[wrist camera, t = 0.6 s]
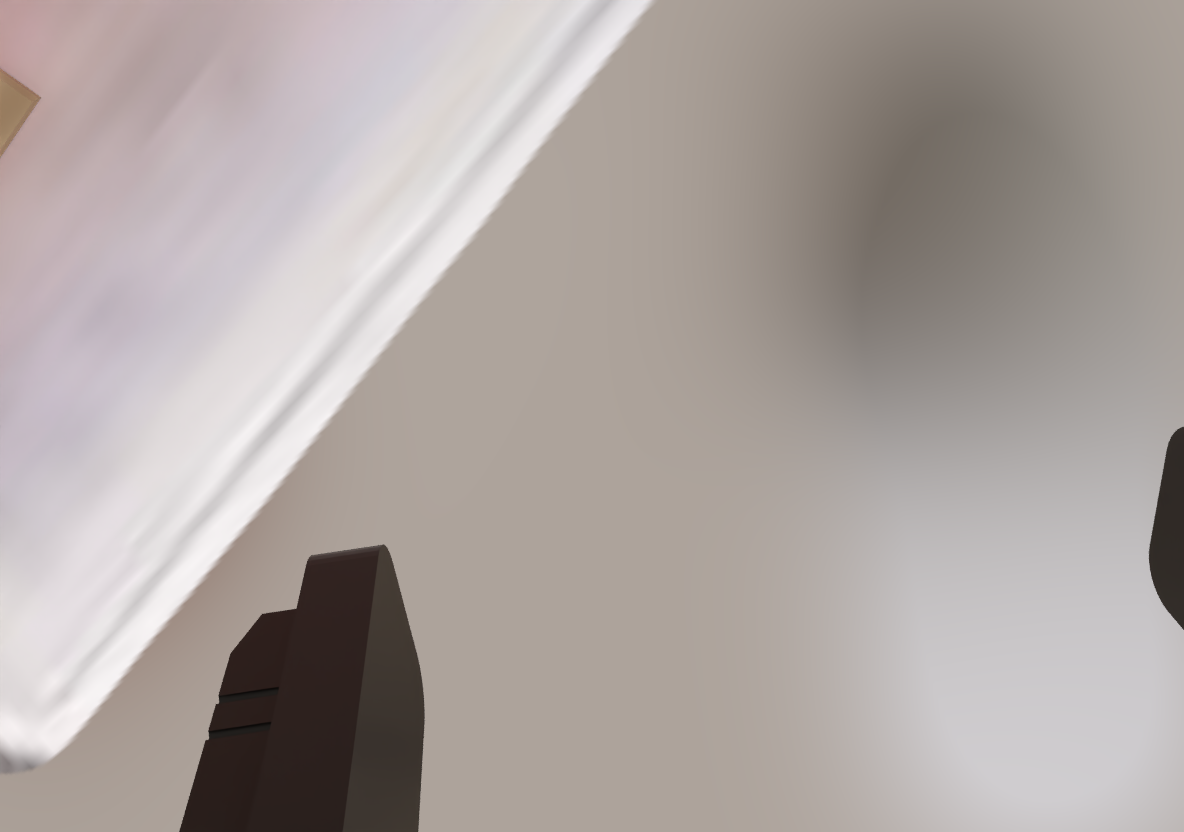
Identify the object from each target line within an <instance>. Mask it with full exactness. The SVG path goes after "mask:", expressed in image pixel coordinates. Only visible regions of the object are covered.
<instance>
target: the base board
mask: <svg viewBox="0 0 1184 832" xmlns="http://www.w3.org/2000/svg"><path fill="white" fill-rule="evenodd" d="M40 98H41V97H39V96H38V95H37V94H35V93H34V92H32V91H31V90H29V89H28V88H27V87H25V86H24V85H22V84H21V83H20V82H18V81H17V80H15V79H14V78H13V77H11V76H10V75H8V74H7V73H6V72H4V71H3V70H1V69H0V157H1V156H2V154H3V153H4V151H5V150H6V148H7V147H8V145H9V144H10V142H11V141H12V139H13V138H14V136H15V135H16V134H17V132H18V131H19V129H20V128H21V126H22V125H23V123H24V122H25V120H26V119H27V117H28V116H29V114H30V113H31V111H32V110H33V108H34V107H35V105H36V104H37V102H38V101H39V99H40Z"/></svg>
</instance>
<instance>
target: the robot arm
mask: <svg viewBox="0 0 1184 832" xmlns="http://www.w3.org/2000/svg"><path fill="white" fill-rule="evenodd" d="M1149 563H1150V571H1151V576H1152V580H1153V583H1154V586H1155V588H1156V591H1157V594H1158V596H1159V598H1160V600H1161V602H1162V603H1163V605H1164V606H1165V608H1166V609H1167V610H1168V612H1169V613H1170V614H1171V615H1172V617H1173V618H1174V619H1175V620H1176V621H1177V622H1178V624H1179V625H1180V626H1181V627H1182V628H1183V630H1184V427H1182V428H1180V429H1178V430H1177V431H1176V432H1175V433H1174V434H1173V435H1172V437H1171V439H1170V441H1169V443H1168V447H1167V452H1166V457H1165V463H1164V469H1163V475H1162V480H1161V486H1160V491H1159V497H1158V502H1157V508H1156V514H1155V519H1154V525H1153V531H1152V536H1151V542H1150V549H1149ZM424 718H425V717H424V695H423V685H422V677H421V671H420V665H419V661H418V657H417V652H416V649H415V645H414V641H413V637H412V633H411V630H410V626H409V622H408V618H407V614H406V611H405V607H404V603H403V599H402V595H401V592H400V588H399V584H398V580H397V577H396V573H395V569H394V565H393V562H392V558H391V555H390V553H389V551H388V549H387V547H386V546H385V545H378V546H371V547H364V548H358V549H351V550H344V551H338V552H332V553H325V554H318V555H311V556H310V557H309V559H308V561H307V564H306V569H305V573H304V578H303V582H302V586H301V591H300V596H299V601H298V605H297V609H292V610H285V611H280V612H272V613H266V614H262V615H261V616H260V617H259V619H258V620H257V621H256V623H255V624H254V625H253V626H252V628H251V629H250V630H249V632H247V634H246V635H245V636H244V638H243V639H242V640H241V641H240V642H239V644H238V645H237V646H236V647H235V649H234V650H233V651H232V652H231V654H230V657H229V661H228V664H227V668H226V671H225V675H224V678H223V682H222V685H221V689H220V692H219V704H216V706H215V710H214V713H213V717H212V721H211V723H210V727H209V731H208V732H209V740H206V741H205V744H204V748H203V751H202V755H201V758H200V762H199V765H198V769H197V772H196V776H195V779H194V783H193V786H192V789H191V793H190V796H189V800H188V803H187V807H186V810H185V815H184V817H183V821H182V824H181V828H180V831H179V832H418V825H419V808H420V791H421V774H422V773H421V772H422V755H423V738H424Z"/></svg>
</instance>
